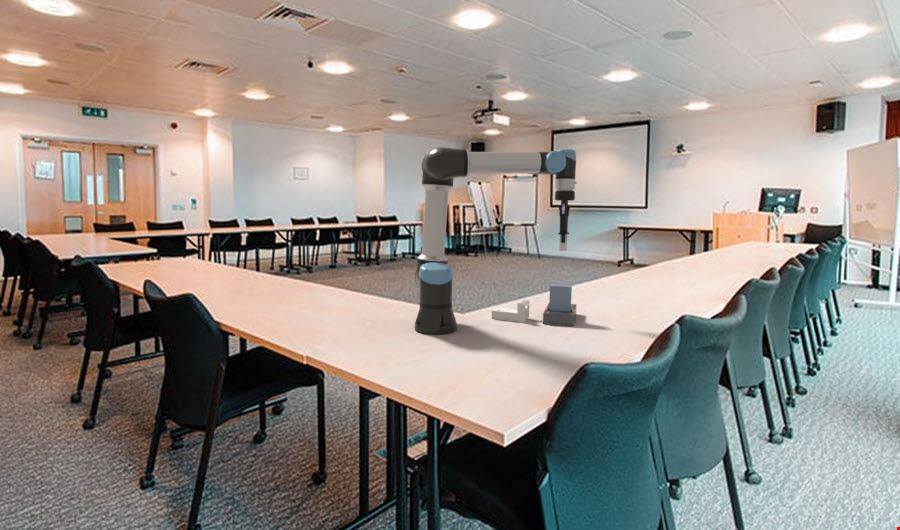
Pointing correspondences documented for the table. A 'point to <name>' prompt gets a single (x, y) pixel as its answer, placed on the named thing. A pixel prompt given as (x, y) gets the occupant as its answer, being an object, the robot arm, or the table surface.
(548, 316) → the rack
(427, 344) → the table surface
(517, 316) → the bracket
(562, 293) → the panel
